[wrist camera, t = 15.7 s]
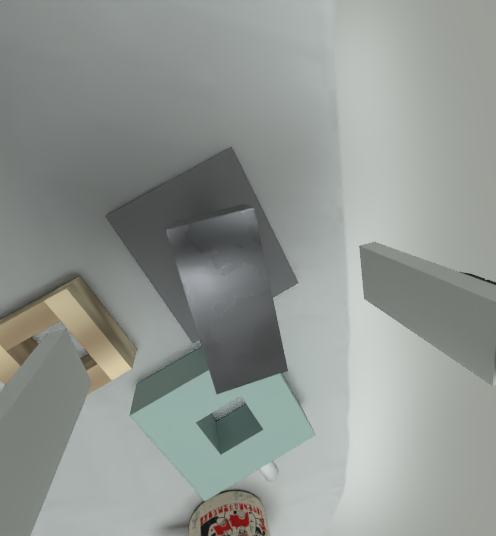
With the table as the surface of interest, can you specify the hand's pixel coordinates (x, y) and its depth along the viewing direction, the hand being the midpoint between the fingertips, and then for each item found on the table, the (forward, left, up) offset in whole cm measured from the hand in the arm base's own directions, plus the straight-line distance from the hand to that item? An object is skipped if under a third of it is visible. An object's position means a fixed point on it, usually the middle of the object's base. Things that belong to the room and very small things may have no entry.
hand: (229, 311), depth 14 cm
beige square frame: (+1, -14, -13) cm, 19 cm away
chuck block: (+16, -6, -13) cm, 21 cm away
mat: (0, 0, -13) cm, 13 cm away
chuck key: (0, 0, -13) cm, 13 cm away
